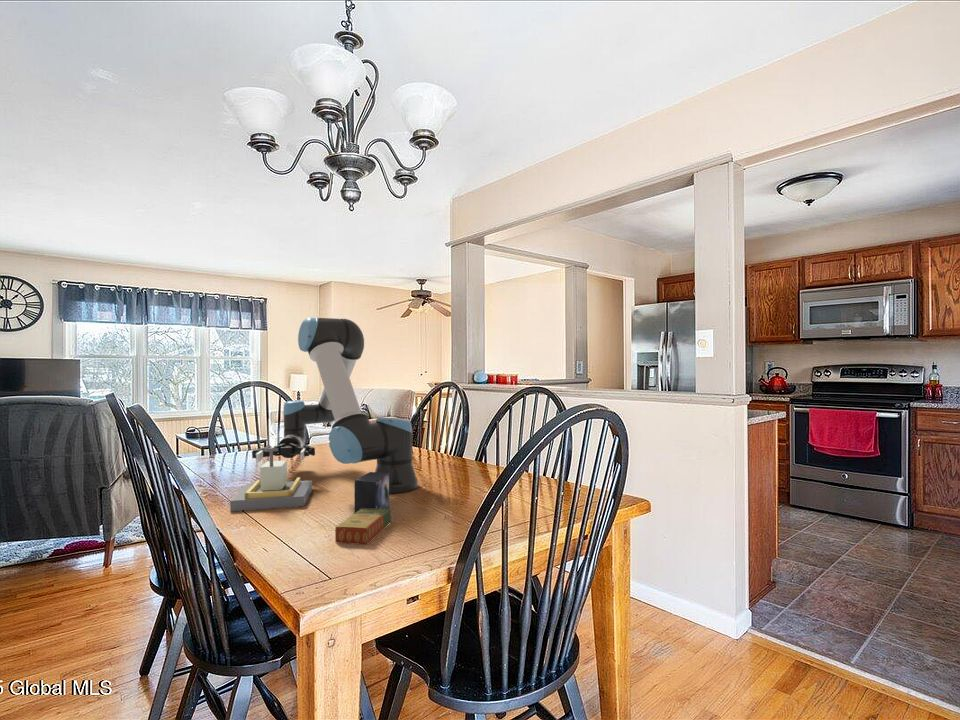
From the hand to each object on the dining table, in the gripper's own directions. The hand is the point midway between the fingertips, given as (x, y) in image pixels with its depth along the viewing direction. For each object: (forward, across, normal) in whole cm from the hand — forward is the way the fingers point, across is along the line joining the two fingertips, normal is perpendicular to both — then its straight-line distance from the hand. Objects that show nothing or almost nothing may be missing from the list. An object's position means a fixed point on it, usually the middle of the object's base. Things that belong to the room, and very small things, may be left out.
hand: (279, 457), depth 168 cm
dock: (+10, 0, -11) cm, 15 cm away
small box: (+31, -30, -12) cm, 44 cm away
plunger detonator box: (+10, 0, -8) cm, 13 cm away
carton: (+46, -28, -12) cm, 55 cm away
